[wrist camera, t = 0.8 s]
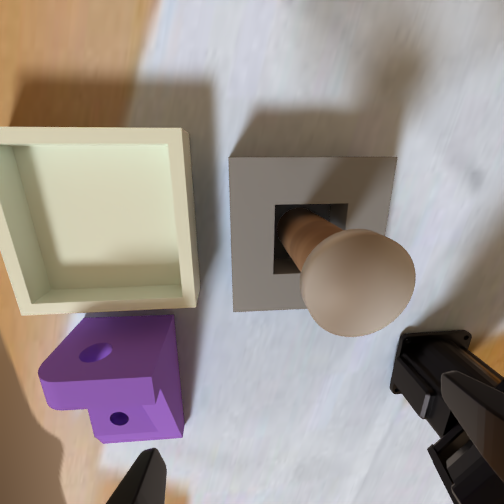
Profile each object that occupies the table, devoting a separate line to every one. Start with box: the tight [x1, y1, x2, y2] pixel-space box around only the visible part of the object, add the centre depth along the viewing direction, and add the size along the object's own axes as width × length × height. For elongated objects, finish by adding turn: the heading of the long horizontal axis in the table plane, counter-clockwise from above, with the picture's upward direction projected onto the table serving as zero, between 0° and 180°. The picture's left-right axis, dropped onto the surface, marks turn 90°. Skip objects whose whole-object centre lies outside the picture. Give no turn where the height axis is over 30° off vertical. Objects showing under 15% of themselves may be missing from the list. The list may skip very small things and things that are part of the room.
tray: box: [0, 127, 200, 316], centre depth 17 cm, size 11×11×3 cm
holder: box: [229, 157, 397, 312], centre depth 18 cm, size 10×10×3 cm
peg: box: [277, 207, 415, 337], centre depth 15 cm, size 4×4×10 cm
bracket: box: [38, 315, 184, 444], centre depth 20 cm, size 12×7×7 cm, turn 179°
